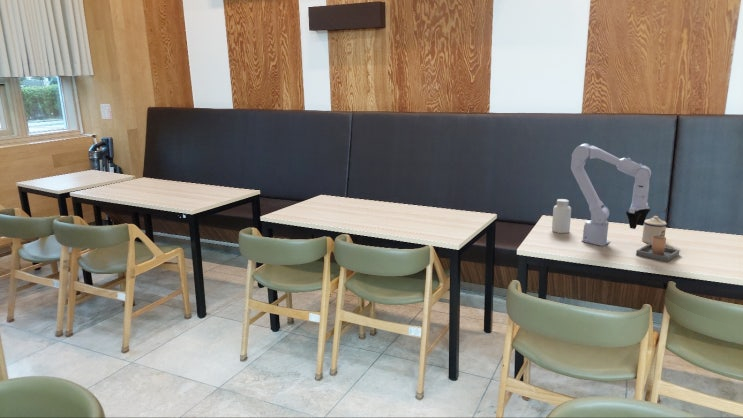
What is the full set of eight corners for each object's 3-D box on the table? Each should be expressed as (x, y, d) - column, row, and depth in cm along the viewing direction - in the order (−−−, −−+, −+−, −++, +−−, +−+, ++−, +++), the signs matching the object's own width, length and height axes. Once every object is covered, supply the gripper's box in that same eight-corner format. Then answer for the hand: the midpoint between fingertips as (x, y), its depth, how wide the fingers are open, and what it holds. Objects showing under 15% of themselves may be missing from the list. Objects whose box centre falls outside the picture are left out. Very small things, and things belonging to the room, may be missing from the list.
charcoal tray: (635, 255, 224) (636, 250, 224) (648, 248, 233) (649, 243, 232) (667, 262, 216) (667, 257, 215) (678, 254, 224) (679, 250, 224)
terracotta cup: (649, 253, 224) (651, 237, 222) (653, 251, 227) (655, 234, 226) (661, 256, 221) (664, 240, 219) (665, 253, 224) (667, 237, 222)
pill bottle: (550, 228, 262) (552, 198, 258) (567, 229, 261) (570, 198, 257) (553, 233, 254) (555, 201, 250) (571, 234, 253) (574, 202, 249)
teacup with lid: (662, 246, 235) (666, 220, 232) (639, 242, 240) (642, 217, 237) (666, 239, 245) (670, 214, 242) (644, 235, 250) (647, 211, 247)
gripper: (643, 199, 220) (639, 232, 223) (657, 194, 230) (653, 225, 233) (625, 196, 225) (621, 228, 228) (639, 191, 235) (636, 221, 238)
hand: (636, 226), depth 231 cm, fingers open, 7 cm apart
